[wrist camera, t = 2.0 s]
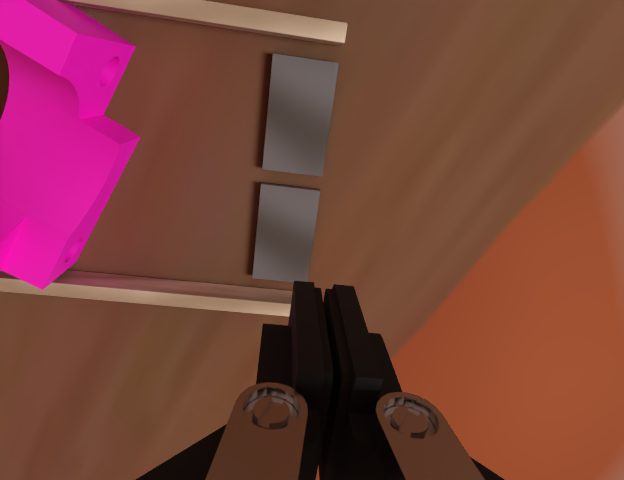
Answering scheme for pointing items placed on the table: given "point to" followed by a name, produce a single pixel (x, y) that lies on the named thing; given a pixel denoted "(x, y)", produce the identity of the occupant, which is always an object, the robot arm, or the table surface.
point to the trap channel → (277, 156)
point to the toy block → (56, 134)
